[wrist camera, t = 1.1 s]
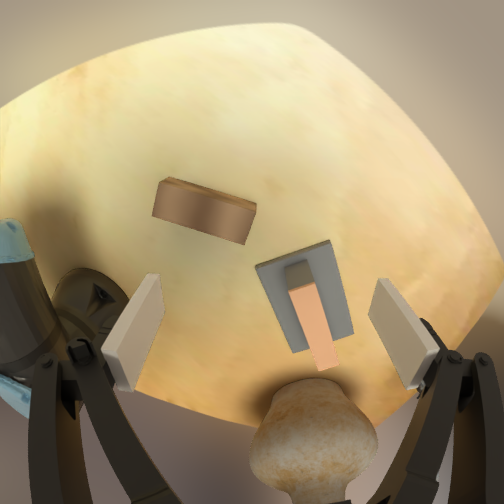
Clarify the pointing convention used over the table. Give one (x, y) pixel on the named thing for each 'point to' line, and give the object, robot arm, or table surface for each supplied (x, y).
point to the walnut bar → (204, 209)
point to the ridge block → (309, 301)
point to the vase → (312, 442)
